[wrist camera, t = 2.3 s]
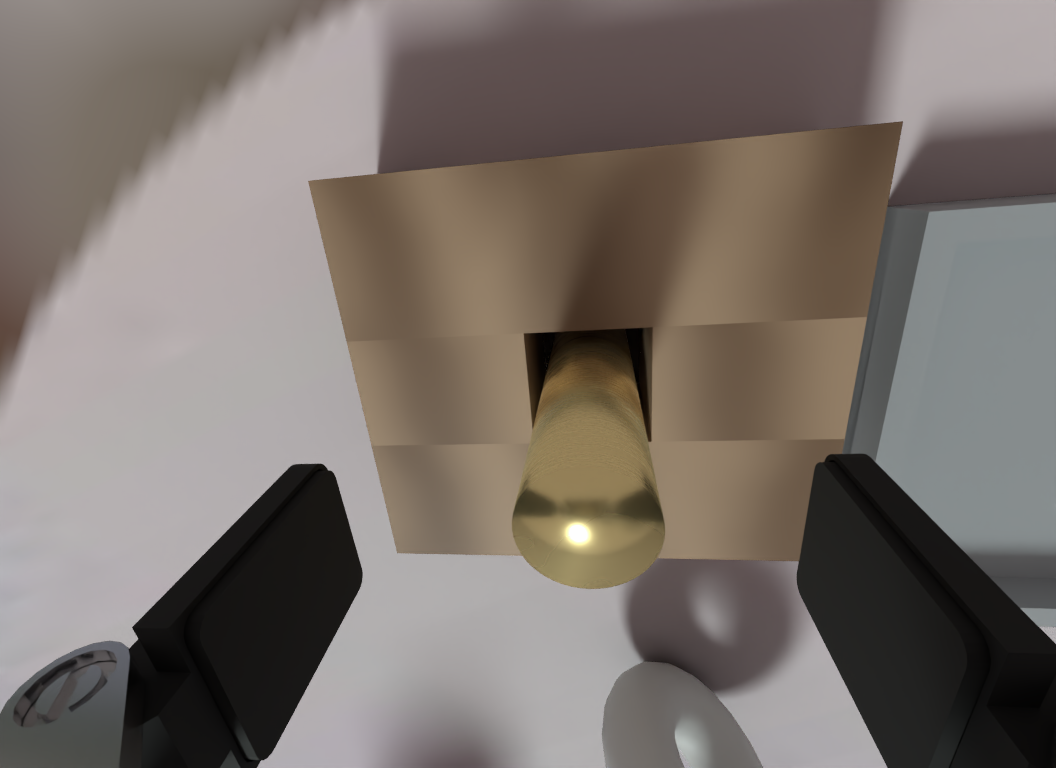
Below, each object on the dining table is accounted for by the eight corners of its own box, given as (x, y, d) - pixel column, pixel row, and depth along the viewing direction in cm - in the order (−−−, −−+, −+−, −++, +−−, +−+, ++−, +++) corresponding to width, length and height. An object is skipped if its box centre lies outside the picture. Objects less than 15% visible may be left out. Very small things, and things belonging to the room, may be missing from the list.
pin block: (818, 135, 17) (902, 121, 12) (775, 481, 22) (822, 561, 18) (376, 178, 19) (308, 181, 15) (434, 482, 24) (397, 553, 20)
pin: (626, 304, 20) (667, 465, 9) (627, 373, 21) (664, 590, 10) (552, 308, 20) (504, 466, 9) (557, 375, 21) (519, 586, 10)
